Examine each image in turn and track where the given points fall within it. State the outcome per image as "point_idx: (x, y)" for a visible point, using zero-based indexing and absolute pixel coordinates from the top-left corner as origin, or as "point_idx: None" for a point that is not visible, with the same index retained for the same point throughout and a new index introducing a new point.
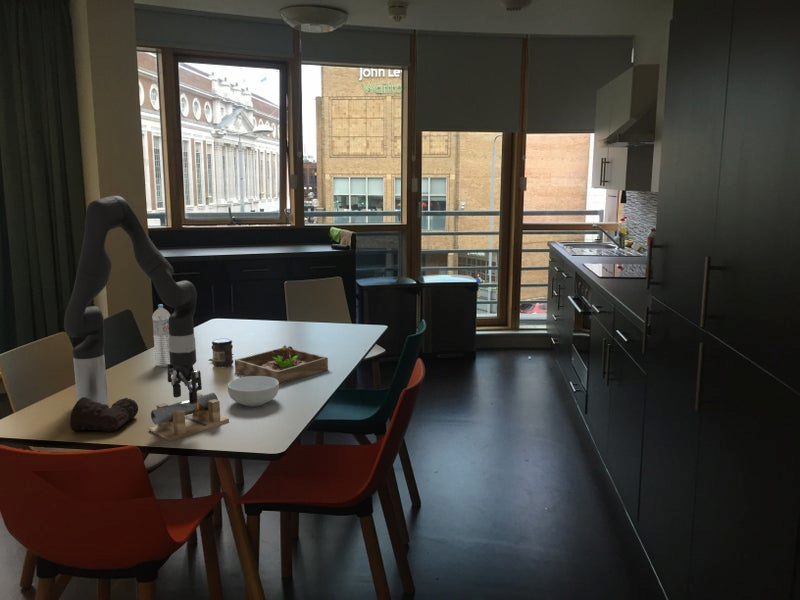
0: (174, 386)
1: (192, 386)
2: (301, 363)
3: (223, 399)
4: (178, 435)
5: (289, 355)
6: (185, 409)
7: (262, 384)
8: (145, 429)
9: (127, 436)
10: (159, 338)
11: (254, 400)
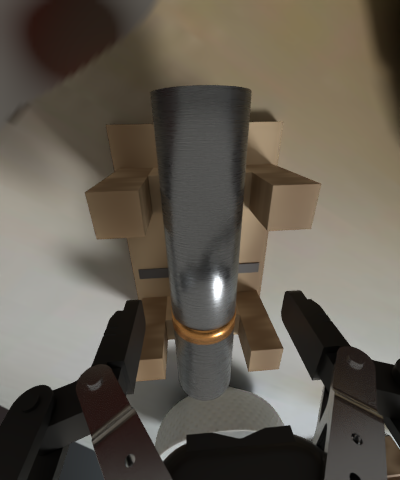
0: (322, 348)
1: (24, 439)
2: None
3: (292, 375)
4: (114, 165)
5: None
6: (168, 265)
7: None
8: (305, 123)
9: (310, 9)
10: None
11: (167, 416)
